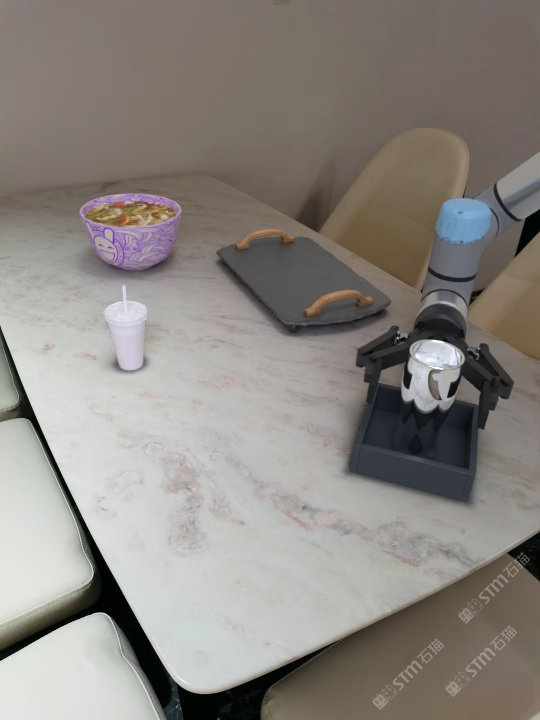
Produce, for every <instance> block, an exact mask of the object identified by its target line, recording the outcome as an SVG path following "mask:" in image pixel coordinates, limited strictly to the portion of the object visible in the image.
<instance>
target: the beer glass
mask: <svg viewBox="0 0 540 720" xmlns="http://www.w3.org/2000/svg"><path fill="white" fill-rule="evenodd" d="M464 361H465V357H464V354H463V353H462V352H461V350H459V349H458V348H457V347H455V346H454V345H452V344H449V343H447V342H443V341H439V340H431V339H427V340H420V341H417V342H415V343H413V344H412V345H411V347H410V350H409V354H408V357H407V360H406V362H404V368H403V371H402V374H401V379H400V421H399V425H398V428H397V430H396V432H395V434H394V436H393V439H392V446H393V448H394V450H395V451H396V452H399V453H403V454H407V455H412V456H416V457H420V458H424V459H428V460H432V459H433V458H434V457H435V456H436V455H437V453H438V439H439V433H440V430H441V427H442V425H443V423H444V421H445V419H446V417H447V415H448V413H449V411H450V410H451V408H452V405H453V403H454V401H455V400H457V399H456V398H457V396H458V393H459V390H460V385H461V381H462V377H463V376H462V371H463V365H464Z"/></svg>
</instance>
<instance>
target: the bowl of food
mask: <svg viewBox="0 0 540 720" xmlns="http://www.w3.org/2000/svg"><path fill="white" fill-rule="evenodd" d="M78 213H79V217H80V219H81V221H82V224H83V227H84V229H85V231H86V234H87V237H88V239H89V242H90V244H91V246H92V248H93V250H94V252H95V254H96V255H97V256H98V258H100V259H101V260H102V261H104V263H107V264H109V265H111V266H113V267H117V268H119V269H122V270H125V271H130V272H131V271H143V270H147V269H149V268H152V267H153V266H156V265H157V264H159V263H162V262H163V261H165V260H166V259H167V258H168V257H169V256H170V255H171V253H172V251H173V250H174V248H175V244H176V242H177V241H176V240H177V235H178V231H179V226H180V222H181V215H182V207H181V206H180V205H179V203H177V201H175V200H173V199H170V198H168V197H164V196H160V195H157V194H150V193H149V194H148V193H118V194H117V193H116V194H110V195H105V196H101V197H97V198H95V199H92V200H89V201H87V202H86V203H85V204H83V205H82V206H81V207H80V209H79V212H78Z"/></svg>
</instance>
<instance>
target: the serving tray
mask: <svg viewBox="0 0 540 720" xmlns="http://www.w3.org/2000/svg"><path fill="white" fill-rule="evenodd" d="M273 236H274V237H273ZM216 255H217V256H218V257H219V258H220V259H221V261H222V262H223V264H225V265H227V267H229V269H230V271H232V272H233V273H235V275H236V276H237V277H238V278H239V280H240V281H242V282H243V283H244V285H246V286H247V287H248V288H249V290H250V291H251V292H252V293H253V294H254V295H255V296H256V297H257V298H258V299H259V300H260V301H261V302H262V303H263V304H264V305H265V306H266V307H267V309H269V310H270V312H272V314H274V315H275V317H276V318H277V319H278V320H279V321H280V322H282V323H283V324H285V325H287V330H288V331H289V333H291V334H296V333H298V332H299V330H300V328H301V326H303V327H307V326H327V325H333V324H341V323H349V322H352V321H356V320H359V319H363V318H365V317H369V316H371V315H376V316H381V315H382V314H384V312H385V309H386V308H388V307H389V306H390V305H391V304H392V300H391V298H390V297H388V295H387V294H385V293H383V292H382V291H381V290H380V289H379V288H377V287H376V286H374V285H373V283H371V282H370V281H368V279H366V278H365V277H363V276H361V275H360V274H358V273H356V271H354V270H353V269H352V268H351V267H350V266H349V265H348V264H346V263H344V262H343V261H342V260H340V259H338V258H337V256H335V255H334V254H333V253H332V252H330V251H328V250H327V249H325V248H324V247H323V246H321V245H320V244H319V243H317V242H316V241H314V240H313V239H312V238H310V237H306V236H305V237H304V236H293V235H287V233H285V232H284V231H283V230H281V229H278V228H265V229H259V230H256V231H252V232H250V233H248V234H247V235H246V236H245V237H244V238H243V239H242V240H241V241H238V242H236V243H232V244H229V245H227V246H224V247H221V248H219V249H218V250H217V251H216Z"/></svg>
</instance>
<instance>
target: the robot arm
mask: <svg viewBox="0 0 540 720" xmlns="http://www.w3.org/2000/svg"><path fill="white" fill-rule="evenodd" d="M539 210H540V151H538V152H537V153H535V154H534V155H532V156H531V157H530V158H528V159H527V160H526V161H524V162H523V163H521V164H519V166H517V167H516V168H514V169H513V170H512V171H510V172H509V173H507V174H506V175H504V176H503V177H502V178H500V179H499V180H498V181H497V182H495V183H494V184H492V185H491V186H489V187H488V188H486V189H485V190H483V191H481V192H479V193H478V194H477V195H474V197H472V198H467V197H456V198H449V199H447V200H446V201H444V202H443V203H442V205H441V207H440V210H439V214H438V218H437V219H436V222H435V231H434V236H433V241H432V245H431V251H430V255H429V261H428V265H427V268H426V269H427V270H426V274H425V279H424V282H423V287H422V292H421V297H420V301H419V304H418V308H417V312H416V316H415V321H414V324H413V328H412V331H410V332H409V333H406V332H402V331H401V330H400V327H399V326H398V325H396V324H395V325H391V326H390V327H389V329H388V330H387V331H386V332H385V333H383V334H381V335H379V336H378V337H376V338H374V339H372V340H370V341H369V342H367V343H365V344H364V345H362V346H360V347H358V348H357V350H356V355H355V356H356V358H355V364H354V365H355V367H356V368H363V367H364V368H365V369H364V372H363V379H362V380H363V382H364V383H366V384H368V386H367V392H366V397H365V398H366V399H365V403H366V404H368V403H370V404H372V401H373V398H374V395H375V392H376V388H377V385H378V383H380V378H381V376H382V375H381V374H382V371H384V370H387V369H390V368H393V367H396V366H399V365H401V364H405V363H406V360H407V357H408V354H409V350H410V347H411V345H412V344H413V343H415V342H417V341H420V340H427V339H431V340H439V341H443V342H447V343H449V344H452V345H454V346H455V347H457V348H458V349H459V350H461V352H462V353H463V354H464V357H465V361H464V365H463V371H462V376H461V377H462V378H464V379H465V380H466V381H467V382H468V383H470V384H471V385H472V386H473V387H474V388H475V389H476V390H478V391H479V392H480V393H479V397H478V405H479V408H478V425H477V428H478V430H485V427H486V424H487V421H488V417H489V415H490V411H493V412H495V410H496V409H497V405H498V402H499V398H500V399H503V400H509V399H510V397H511V394H512V391H513V388H514V385H515V381H514V380H513V379H512V377H511V376H510V375H509V373H508V372H507V371H506V370H505V369H504V368H503V366H502V365H501V363H500V362H499V361H498V360H497V359H496V358H495V357H494V355H493V354H492V353H491V351H490V346H489V344H488V343H486V342H481V343H479V344H478V345H479V346H471V345H469V344H468V343H467V342H466V336H467V328H468V314H469V307H470V301H471V296H472V293H473V288H474V285H475V281H476V278H477V274H478V269H479V266H480V261H481V258H482V255H483V252H484V251H485V250H486V249H487V248H488V247H489V245H491V243H493V242H494V241H495V240H496V239H497V238H498V237H499V236H500V235H502V234H503V233H505V232H507V231H508V230H509V229H511V228H512V227H514V226H516V225H517V224H520V222H522V221H523V220H525V219H526V218H527V217H529V216H531V215H532V214H534V213H536V212H537V211H539Z"/></svg>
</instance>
